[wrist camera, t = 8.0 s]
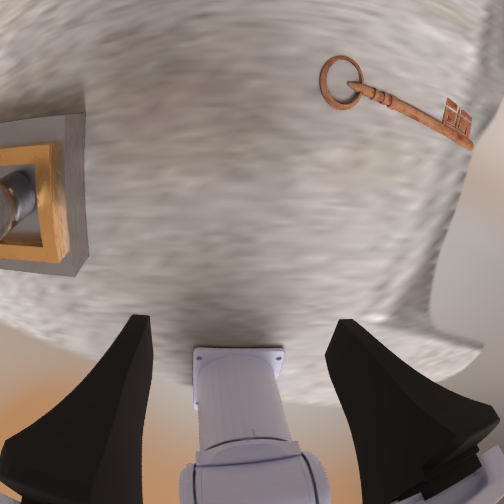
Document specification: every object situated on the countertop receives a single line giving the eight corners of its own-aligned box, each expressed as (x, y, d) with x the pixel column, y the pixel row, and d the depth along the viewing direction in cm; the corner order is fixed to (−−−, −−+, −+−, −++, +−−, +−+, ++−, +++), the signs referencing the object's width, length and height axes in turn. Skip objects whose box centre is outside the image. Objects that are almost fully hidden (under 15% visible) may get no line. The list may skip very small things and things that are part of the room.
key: (472, 107, 18) (328, 27, 15) (479, 107, 18) (333, 23, 14) (462, 166, 20) (312, 102, 17) (469, 167, 20) (318, 101, 16)
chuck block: (89, 255, 19) (69, 285, 16) (8, 249, 18) (-18, 274, 14) (85, 113, 15) (57, 115, 12) (-4, 123, 14) (-38, 131, 10)
